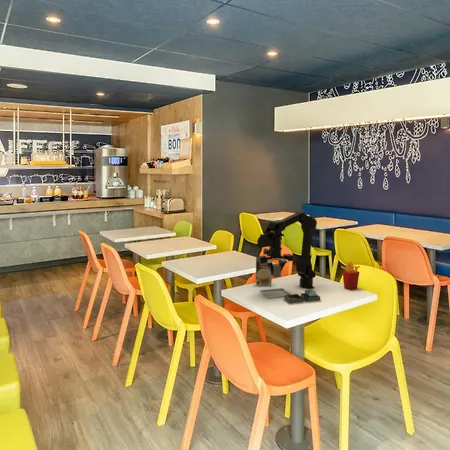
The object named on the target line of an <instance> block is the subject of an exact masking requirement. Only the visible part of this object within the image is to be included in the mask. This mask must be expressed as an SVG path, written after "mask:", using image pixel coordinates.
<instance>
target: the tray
mask: <svg viewBox="0 0 450 450" xmlns="http://www.w3.org/2000/svg"><path fill="white" fill-rule="evenodd" d="M259 292H260V293H261V295H263V297H265V298H266V299H267V300H272V299H284V295H290V294H291V292H288V291H287V290H286V289H285V288H283V287H279V288H270V289H267V288H266V289H260V290H259Z"/></svg>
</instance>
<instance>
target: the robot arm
mask: <svg viewBox="0 0 450 450" xmlns="http://www.w3.org/2000/svg"><path fill="white" fill-rule="evenodd" d="M297 222H298V223H299V224H300V228H301V229H300V230H301V231H302V242H301V243H302V244H301V254H300V258H299V260H297V261H296V262H295V263H296V264H295V265H296V267H295V269H296V272H297V276H298V277H300V278H299V285H298V286H299V287H300V288H302V289H305V290H310V289H314V288H315V287H314V278H316V276H317V275H316V272H315V271H314V270H313V263H312V262H311V251H312V243H313V241H312V240H313V234H314V232H316V229H317V225H318V223H317V222H318V221H317V219H316V218H314V217H311V216H309V215H308V214H306V213H305V212H301V211H297V212H295V213H293V214H291V215H288V216H287V217H286V216H285V217H284V218H282V219H277V220H272V221H270V222H269V223H268V225H267V227H266V229H265V231H264V233H263V234H262V233H261V234H259V237H258V238H257V246H258V247H259V248H261V249H263V250H262V251H263V252H262V253H263V255H258V256H257V261H258V262H259V263H266V264H267V265H268V267H269V270H270V273H271V275H272V274H273V264H274V263H273V261H277V262H278V264H279V265H280V266H281V272H282V271H283V269H284V267H285V265H286V264H288V262H294V261H295V257H294V255H293V254H291V253H286V254H285V253H284V254H283V255H282V250H283V248H282V237H284V236H285V233H283V231H285V230H286V228H287V227H289V226H292V225H294V224H295V223H297ZM267 247H268V248H267ZM271 260H272V262H271Z"/></svg>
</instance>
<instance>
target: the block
mask: <svg viewBox="0 0 450 450" xmlns="http://www.w3.org/2000/svg"><path fill="white" fill-rule="evenodd" d="M270 275H271V273H270ZM271 276H272V278H281V277H282V271H281V266H280V265H279V263H273V274H272V275H271Z"/></svg>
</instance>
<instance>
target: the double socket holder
mask: <svg viewBox="0 0 450 450" xmlns="http://www.w3.org/2000/svg"><path fill="white" fill-rule="evenodd" d="M282 301H283V302H284V303H286V304H287V305H289V306H291V305H299V304H310V303H317V302H322V301H323V300H322V299H321V296H320V295H318V294H317V291H315V290H314V289H305V290H304V293H303V292H302V293H300V294H298V293H294V294H293V293H292V294H291V293H290V295H284V298H282Z"/></svg>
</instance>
